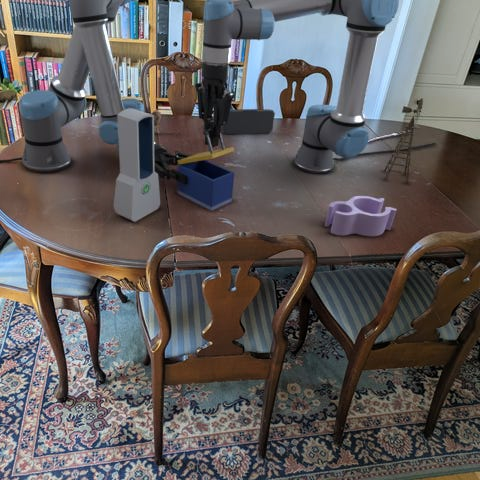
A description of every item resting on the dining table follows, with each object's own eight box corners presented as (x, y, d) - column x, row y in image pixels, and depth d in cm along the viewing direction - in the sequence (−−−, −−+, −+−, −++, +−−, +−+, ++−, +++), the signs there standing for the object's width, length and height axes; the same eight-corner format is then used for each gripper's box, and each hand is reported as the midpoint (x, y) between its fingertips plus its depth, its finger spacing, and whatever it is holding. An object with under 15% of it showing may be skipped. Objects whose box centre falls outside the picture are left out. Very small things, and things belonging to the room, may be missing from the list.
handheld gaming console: (270, 130, 208) (273, 108, 202) (272, 133, 206) (275, 110, 200) (221, 132, 201) (222, 109, 195) (222, 134, 199) (224, 111, 193)
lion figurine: (159, 130, 196) (159, 108, 191) (162, 134, 192) (162, 113, 187) (124, 131, 191) (123, 109, 186) (126, 135, 187) (125, 113, 182)
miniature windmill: (407, 184, 173) (433, 103, 157) (384, 180, 174) (407, 99, 158) (405, 174, 181) (429, 96, 164) (383, 170, 182) (405, 93, 165)
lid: (234, 150, 141) (227, 123, 138) (213, 158, 134) (205, 129, 132) (200, 156, 151) (192, 131, 149) (178, 164, 145) (170, 138, 143)
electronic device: (132, 223, 132) (128, 120, 116) (113, 215, 135) (106, 113, 119) (161, 207, 141) (161, 110, 125) (142, 199, 144) (140, 103, 128)
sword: (405, 131, 224) (406, 128, 224) (410, 133, 222) (411, 130, 222) (362, 142, 208) (362, 140, 208) (367, 144, 206) (368, 142, 206)
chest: (231, 201, 149) (234, 172, 144) (211, 210, 143) (213, 181, 137) (198, 184, 157) (199, 156, 152) (177, 193, 150) (177, 164, 145)
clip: (337, 240, 135) (342, 219, 131) (318, 218, 145) (322, 198, 141) (395, 233, 141) (402, 213, 137) (373, 213, 151) (378, 194, 147)
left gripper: (175, 155, 169) (220, 176, 158) (125, 172, 154) (171, 196, 143) (175, 136, 165) (222, 156, 154) (124, 150, 150) (172, 174, 139)
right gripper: (245, 66, 125) (238, 149, 138) (205, 55, 133) (202, 135, 145) (227, 70, 120) (221, 155, 133) (186, 58, 128) (185, 140, 140)
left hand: (197, 175), depth 148 cm, fingers closed on chest, 10 cm apart
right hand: (211, 144), depth 139 cm, fingers closed on lid, 2 cm apart
